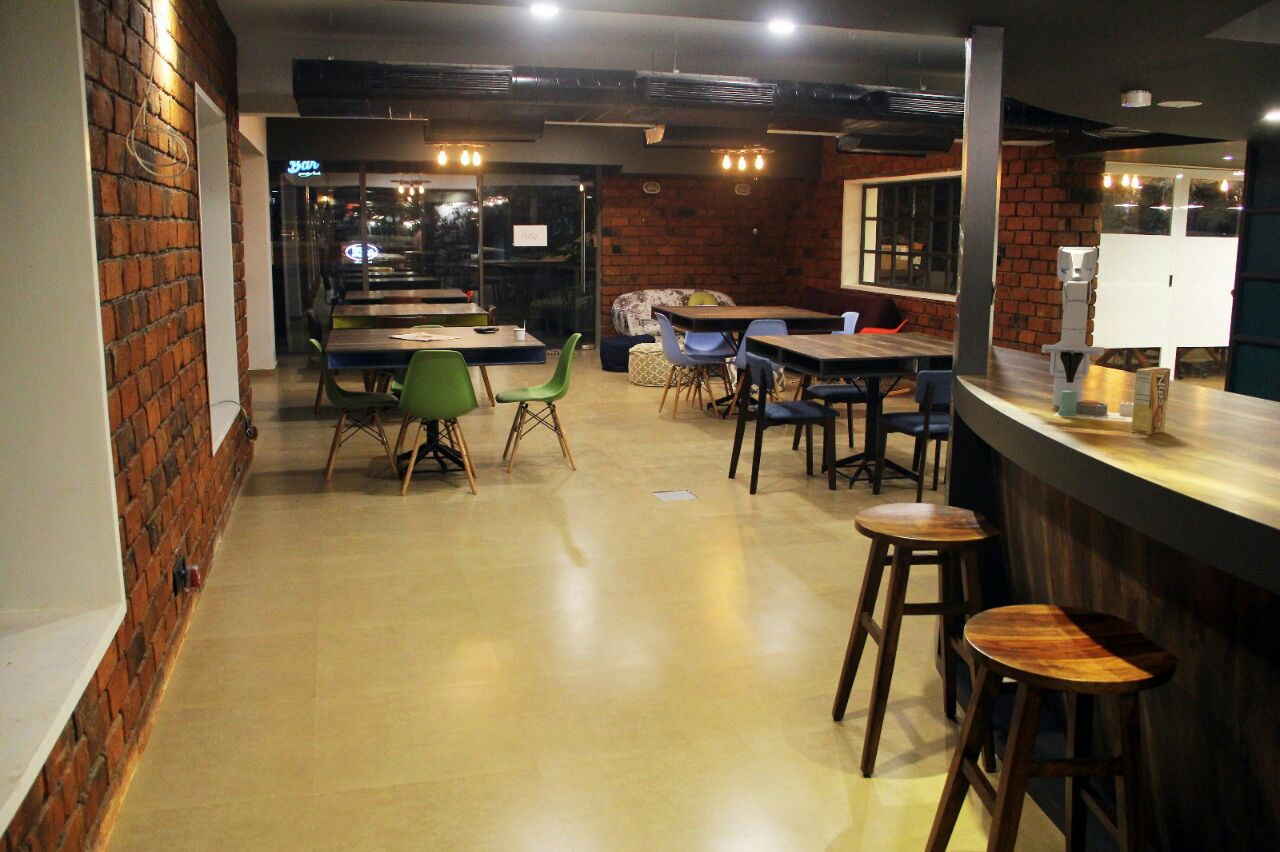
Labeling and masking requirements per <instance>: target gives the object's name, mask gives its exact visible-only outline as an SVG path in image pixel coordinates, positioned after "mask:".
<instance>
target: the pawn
mask: <svg viewBox="0 0 1280 852" xmlns="http://www.w3.org/2000/svg"><path fill="white" fill-rule="evenodd" d="M1076 404H1077V392H1076V391H1061V392H1060V406H1058V407H1059V408H1058V411H1059V412H1058V411H1057V412H1058V415H1062V416H1076V415H1077V413H1076Z"/></svg>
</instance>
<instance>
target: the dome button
mask: <svg viewBox="0 0 1280 852" xmlns="http://www.w3.org/2000/svg"><path fill="white" fill-rule="evenodd" d="M1082 402H1083V404H1081V405H1092V406H1100V405H1098V402H1099V401H1098V400H1092V399H1090V400H1088V399H1087V400H1086V399H1085V400H1083V401H1082Z"/></svg>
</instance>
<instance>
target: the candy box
mask: <svg viewBox="0 0 1280 852" xmlns="http://www.w3.org/2000/svg"><path fill="white" fill-rule="evenodd" d="M1171 369H1172V368H1168V367H1160V366H1159V367H1158V366H1153V367H1151V366H1150V367H1144V368H1143V367H1142V368H1137V369H1136V376H1135V377H1136V379H1135V389H1134V399H1133V403H1134V407H1133V418H1132V422H1131V430H1136V431H1131V432H1132V433H1131V434H1135V433H1140V434H1139V435H1143V434H1146V435H1145V436H1147V434H1149V435H1152V434H1158V433H1163V431H1164V432H1165V428H1166V418H1167V409H1168V400H1169V398H1168V397H1169V389H1170V380H1171V379H1170V378H1171ZM1137 431H1143V432H1137Z"/></svg>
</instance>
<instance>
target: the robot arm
mask: <svg viewBox="0 0 1280 852" xmlns="http://www.w3.org/2000/svg"><path fill="white" fill-rule="evenodd" d="M1097 259H1098V248H1097V247H1096V246H1093V247H1092V246H1089V247H1088V246H1060V247H1059V248H1058V250H1057V264H1056V268H1057V270H1056V271H1057V272H1056V275H1057V279H1058V280H1060V281H1061V282H1063V287H1062V311H1063V313H1062V323H1061V324H1062V325H1061V335H1060V336H1061V338H1060V341H1058V342H1057V343H1054V344H1042V345H1041V353H1043V354H1044V353H1045V354H1047V353H1050V363H1049V373H1050V374H1051V375H1053V377H1054V379H1053V389H1052V390H1053V392H1052V393H1053V394H1052V406H1055V407H1059V406H1060V392H1061V391H1076V392H1077V402H1082V397H1083V396H1082V394H1083V383H1084V382H1083V381H1084V376H1085V377H1087V375H1089V372H1090V360H1091V356H1100V357H1101V356H1104V353H1105V352H1104V350H1105V347H1103V346H1102V347H1101V346H1089V345H1087V344H1086V335H1087V321H1088V310H1089V309H1088V308H1089V305H1090V302H1091V295H1092V283H1091V281H1092V280H1093V279H1094V276H1095V273H1096V268H1097Z"/></svg>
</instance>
